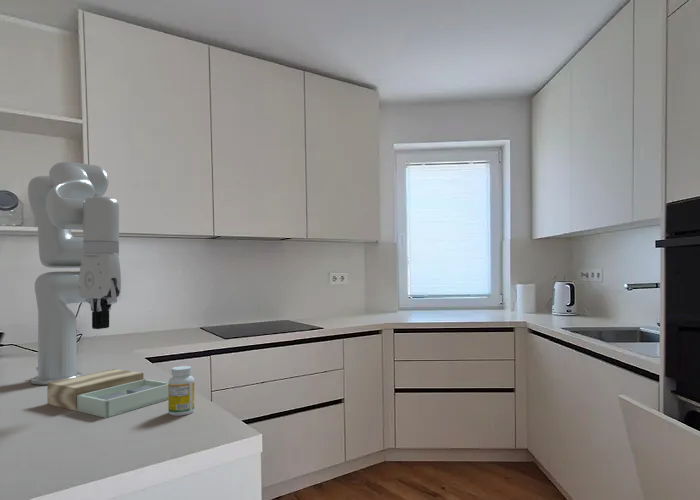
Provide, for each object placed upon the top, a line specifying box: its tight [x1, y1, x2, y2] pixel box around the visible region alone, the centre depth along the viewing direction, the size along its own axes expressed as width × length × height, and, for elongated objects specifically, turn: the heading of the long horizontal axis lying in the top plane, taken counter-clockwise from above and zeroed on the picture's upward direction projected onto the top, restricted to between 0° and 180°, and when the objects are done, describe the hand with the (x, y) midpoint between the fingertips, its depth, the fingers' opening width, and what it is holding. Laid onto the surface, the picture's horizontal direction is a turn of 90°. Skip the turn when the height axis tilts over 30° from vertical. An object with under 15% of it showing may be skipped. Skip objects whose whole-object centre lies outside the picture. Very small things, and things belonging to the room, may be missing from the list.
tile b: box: [97, 392, 128, 400], centre depth 104 cm, size 5×5×2 cm
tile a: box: [127, 385, 154, 394], centre depth 110 cm, size 5×5×2 cm
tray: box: [77, 378, 168, 419], centre depth 108 cm, size 11×17×4 cm, turn 149°
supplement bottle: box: [167, 365, 195, 417], centre depth 101 cm, size 5×5×10 cm
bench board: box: [46, 368, 145, 412], centre depth 114 cm, size 12×17×5 cm
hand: (100, 328), depth 108 cm, fingers closed
